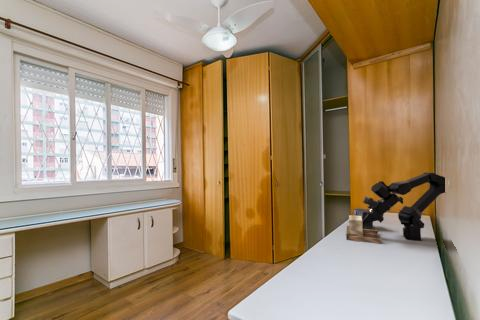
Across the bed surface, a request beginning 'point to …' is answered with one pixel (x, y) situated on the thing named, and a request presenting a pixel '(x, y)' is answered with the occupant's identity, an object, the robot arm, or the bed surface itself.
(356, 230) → the pale wooden box
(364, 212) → the small box
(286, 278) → the bed surface
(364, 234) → the bay
